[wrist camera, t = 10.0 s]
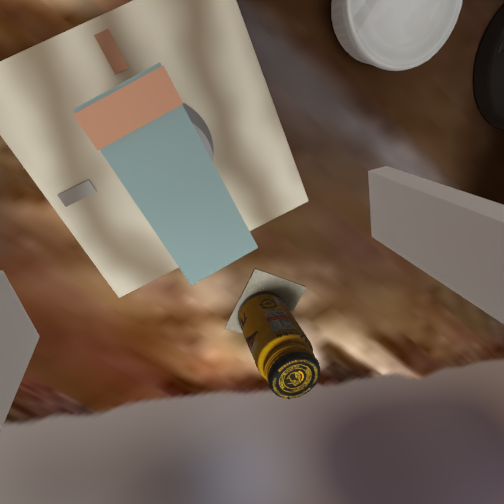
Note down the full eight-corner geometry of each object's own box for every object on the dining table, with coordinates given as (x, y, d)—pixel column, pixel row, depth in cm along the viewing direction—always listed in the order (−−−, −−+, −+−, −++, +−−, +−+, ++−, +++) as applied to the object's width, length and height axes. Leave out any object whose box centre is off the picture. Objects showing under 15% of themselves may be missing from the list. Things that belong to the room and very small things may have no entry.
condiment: (224, 328, 46) (249, 400, 36) (254, 268, 44) (291, 326, 33) (274, 341, 49) (312, 412, 38) (305, 286, 47) (354, 344, 36)
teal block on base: (228, 190, 37) (273, 242, 25) (165, 225, 36) (178, 296, 24) (162, 65, 31) (177, 52, 19) (87, 106, 31) (53, 119, 19)
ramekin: (326, -75, 33) (357, -102, 28) (436, -58, 36) (480, -79, 31) (313, 69, 37) (338, 67, 32) (411, 74, 40) (448, 73, 35)
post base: (216, -34, 32) (222, -42, 30) (301, 196, 42) (309, 201, 40) (-30, 80, 30) (-42, 79, 28) (120, 288, 41) (118, 299, 38)
